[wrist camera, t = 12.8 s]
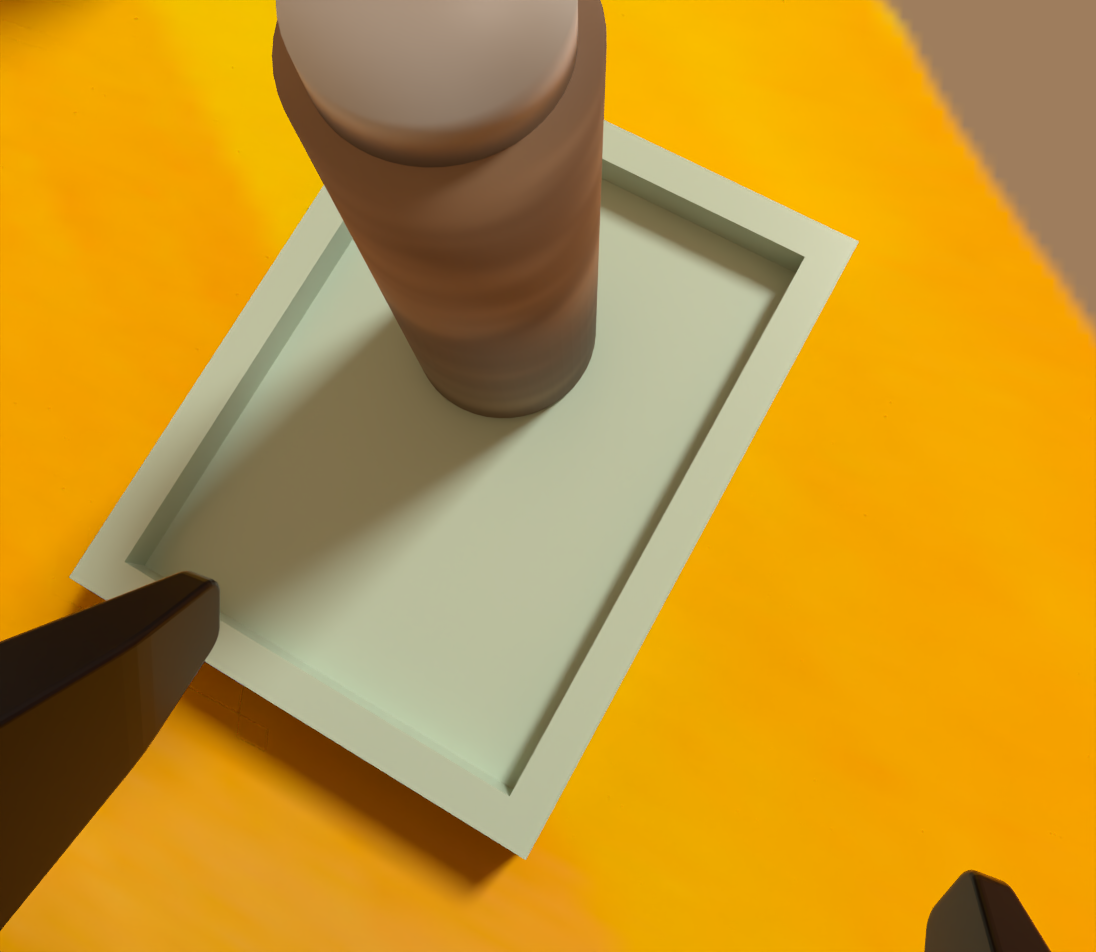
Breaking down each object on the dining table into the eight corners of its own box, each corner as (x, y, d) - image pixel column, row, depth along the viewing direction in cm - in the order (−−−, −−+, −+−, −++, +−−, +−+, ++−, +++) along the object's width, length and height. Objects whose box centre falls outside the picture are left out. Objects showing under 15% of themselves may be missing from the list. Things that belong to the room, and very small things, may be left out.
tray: (531, 840, 22) (525, 860, 20) (112, 583, 24) (68, 577, 22) (837, 274, 24) (858, 241, 22) (435, 79, 26) (422, 33, 24)
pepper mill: (494, 455, 23) (399, 223, 11) (378, 324, 24) (175, -18, 12) (633, 337, 23) (685, -5, 11) (514, 213, 24) (449, -220, 12)
